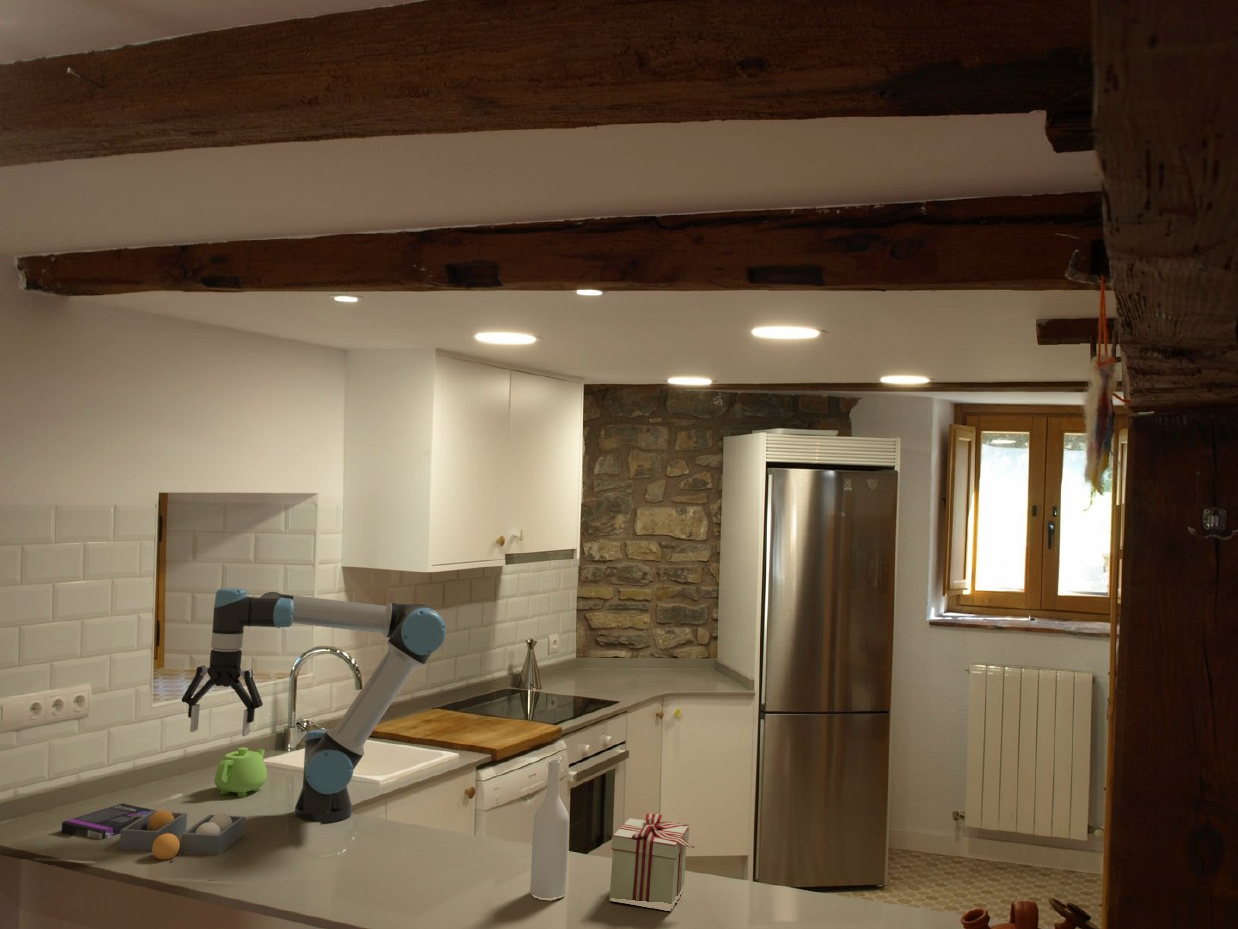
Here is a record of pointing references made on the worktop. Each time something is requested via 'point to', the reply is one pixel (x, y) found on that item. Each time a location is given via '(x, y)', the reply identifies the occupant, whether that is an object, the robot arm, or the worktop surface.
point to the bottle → (550, 841)
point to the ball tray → (143, 838)
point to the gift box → (649, 860)
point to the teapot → (241, 772)
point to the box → (104, 821)
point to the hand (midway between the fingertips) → (219, 733)
